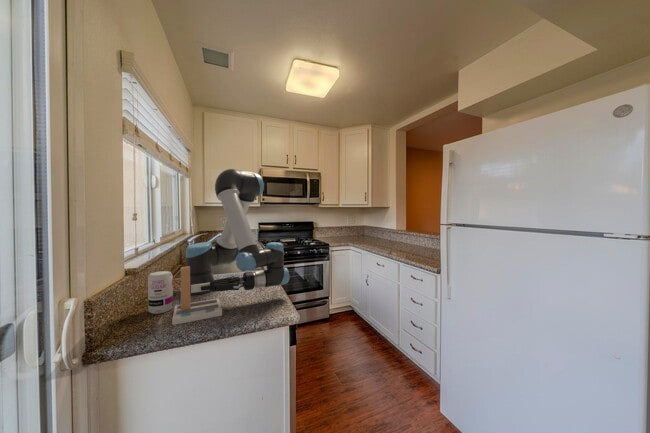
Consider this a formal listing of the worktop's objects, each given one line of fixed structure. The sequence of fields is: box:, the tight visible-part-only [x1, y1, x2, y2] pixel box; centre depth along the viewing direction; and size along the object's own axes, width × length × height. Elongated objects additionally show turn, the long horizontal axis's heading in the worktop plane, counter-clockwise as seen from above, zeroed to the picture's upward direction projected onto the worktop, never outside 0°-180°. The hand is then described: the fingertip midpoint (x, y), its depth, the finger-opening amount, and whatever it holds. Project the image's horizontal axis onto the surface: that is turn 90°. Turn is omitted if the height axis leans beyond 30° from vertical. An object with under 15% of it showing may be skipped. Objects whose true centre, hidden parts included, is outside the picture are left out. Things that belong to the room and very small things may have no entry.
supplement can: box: [147, 270, 174, 315], centre depth 95 cm, size 8×8×15 cm
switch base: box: [171, 298, 223, 326], centre depth 92 cm, size 14×16×3 cm
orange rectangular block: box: [180, 265, 192, 310], centre depth 90 cm, size 4×3×16 cm
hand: (191, 289), depth 91 cm, fingers closed
